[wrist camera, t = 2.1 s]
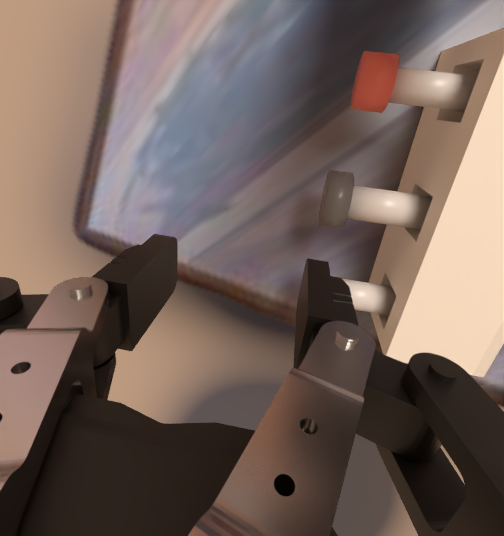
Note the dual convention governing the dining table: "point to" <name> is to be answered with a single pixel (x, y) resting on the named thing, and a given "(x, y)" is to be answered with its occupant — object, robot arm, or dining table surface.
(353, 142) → the dining table surface
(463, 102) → the red knob
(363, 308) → the knob
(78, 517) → the robot arm
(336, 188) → the knob
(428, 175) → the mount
